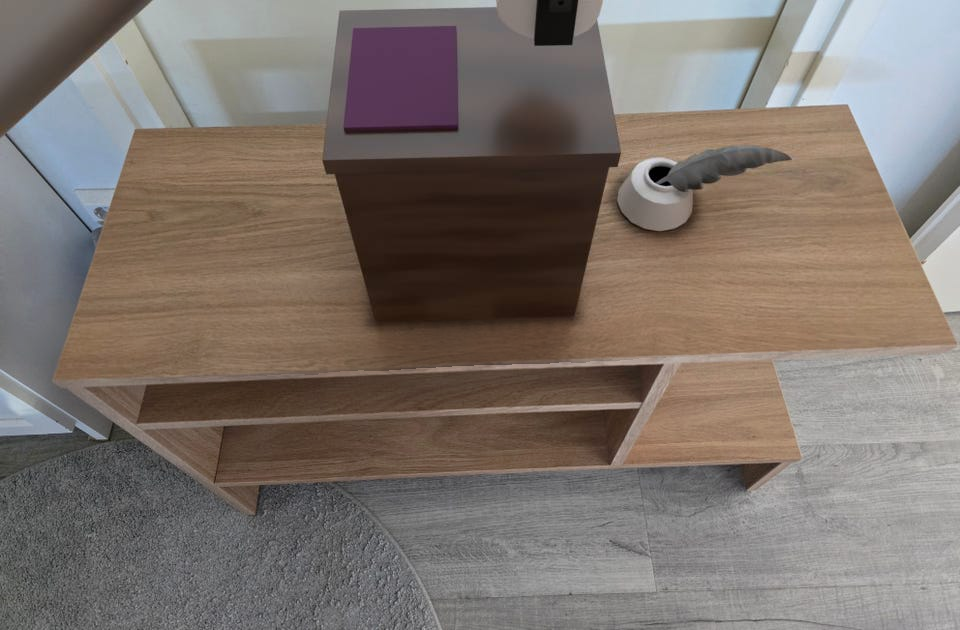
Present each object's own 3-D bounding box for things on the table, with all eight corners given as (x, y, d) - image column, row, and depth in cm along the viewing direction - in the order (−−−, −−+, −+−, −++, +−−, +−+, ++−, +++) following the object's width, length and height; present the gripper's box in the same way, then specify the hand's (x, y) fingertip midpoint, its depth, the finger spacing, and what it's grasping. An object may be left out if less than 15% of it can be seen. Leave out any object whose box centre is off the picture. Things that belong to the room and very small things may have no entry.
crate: (579, 320, 75) (621, 153, 52) (370, 326, 75) (322, 160, 52) (564, 193, 84) (594, 4, 61) (378, 198, 84) (339, 10, 61)
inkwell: (613, 173, 85) (628, 112, 77) (756, 174, 85) (787, 113, 77) (620, 232, 81) (636, 175, 72) (772, 233, 81) (806, 175, 72)
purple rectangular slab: (458, 128, 54) (458, 124, 53) (344, 131, 54) (343, 127, 53) (456, 29, 60) (456, 25, 59) (353, 31, 60) (353, 27, 59)
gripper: (715, -356, 26) (615, 100, 46) (637, -500, 37) (584, -80, 56) (520, -353, 26) (504, 102, 46) (499, -498, 37) (493, -79, 56)
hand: (548, 1), depth 51 cm, fingers closed on cup, 8 cm apart
